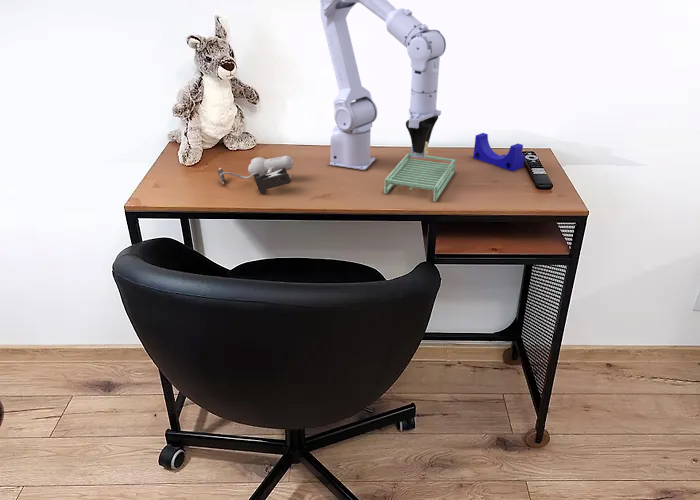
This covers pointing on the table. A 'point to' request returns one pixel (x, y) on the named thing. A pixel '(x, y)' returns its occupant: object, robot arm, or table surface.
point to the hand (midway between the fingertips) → (420, 149)
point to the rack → (421, 174)
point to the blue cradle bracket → (508, 161)
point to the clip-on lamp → (266, 172)
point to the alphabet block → (421, 153)
